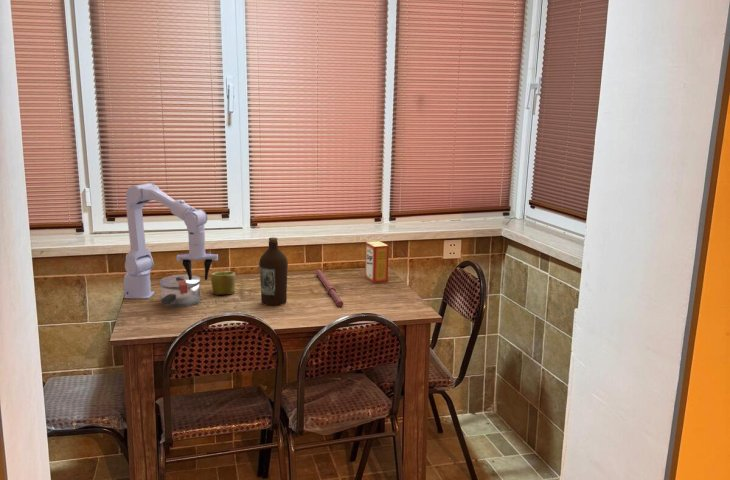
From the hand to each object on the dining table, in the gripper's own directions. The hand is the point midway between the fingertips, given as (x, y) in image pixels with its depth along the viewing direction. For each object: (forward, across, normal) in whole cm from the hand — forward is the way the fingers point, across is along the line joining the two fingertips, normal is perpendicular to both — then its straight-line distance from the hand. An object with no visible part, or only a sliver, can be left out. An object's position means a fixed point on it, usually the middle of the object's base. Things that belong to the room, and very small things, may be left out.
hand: (198, 279), depth 236 cm
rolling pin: (+11, -49, -18) cm, 53 cm away
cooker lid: (+3, +7, -3) cm, 8 cm away
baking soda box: (+11, -70, -33) cm, 78 cm away
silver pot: (+10, +8, -4) cm, 14 cm away
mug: (+11, -7, -18) cm, 22 cm away
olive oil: (+11, -27, -3) cm, 29 cm away
